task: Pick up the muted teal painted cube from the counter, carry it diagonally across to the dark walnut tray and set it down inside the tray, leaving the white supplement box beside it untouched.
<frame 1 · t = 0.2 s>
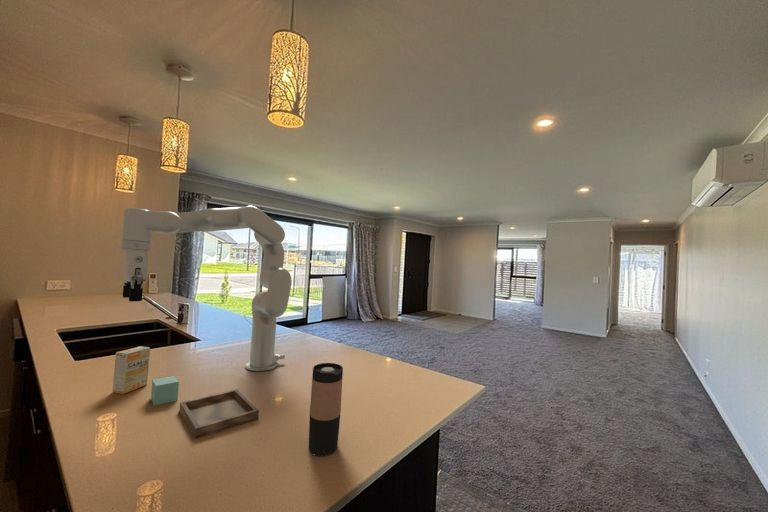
hand: (131, 299, 100), 30 cm above the worktop, tool pointing down, fingers open, 9 cm apart
travel mug: (323, 448, 78), on the worktop
supplement box: (130, 389, 104), on the worktop
walnut tray: (218, 414, 90), on the worktop
teal cube: (164, 399, 98), on the worktop
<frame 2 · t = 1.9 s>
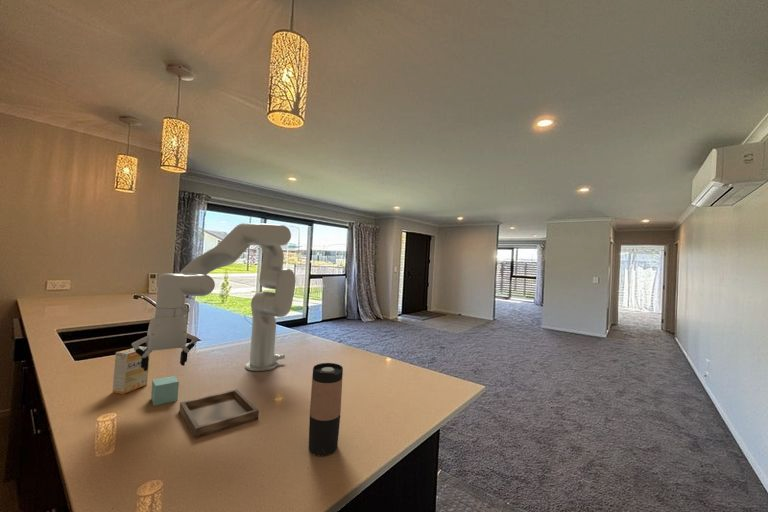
hand: (164, 367, 97), 10 cm above the worktop, tool pointing down, fingers open, 9 cm apart
nothing on the worktop moved.
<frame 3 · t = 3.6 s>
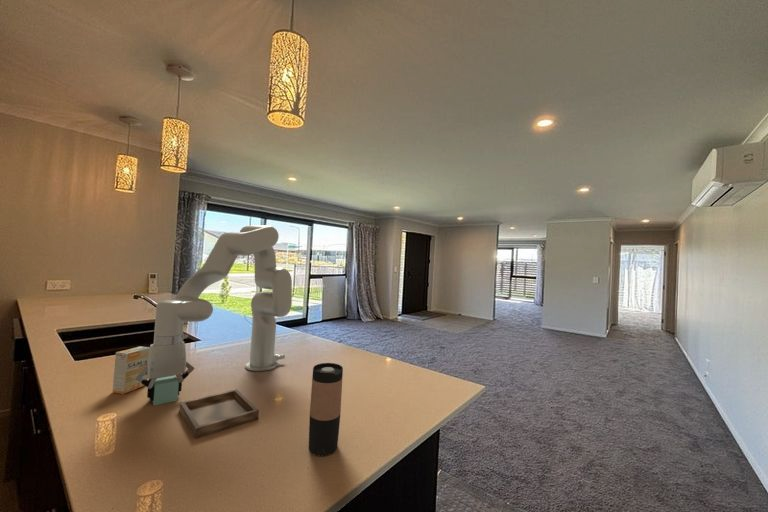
hand: (164, 396, 98), 1 cm above the worktop, tool pointing down, fingers closed on teal cube, 6 cm apart
teal cube: (164, 399, 98), on the worktop, touching gripper
everything else where it was.
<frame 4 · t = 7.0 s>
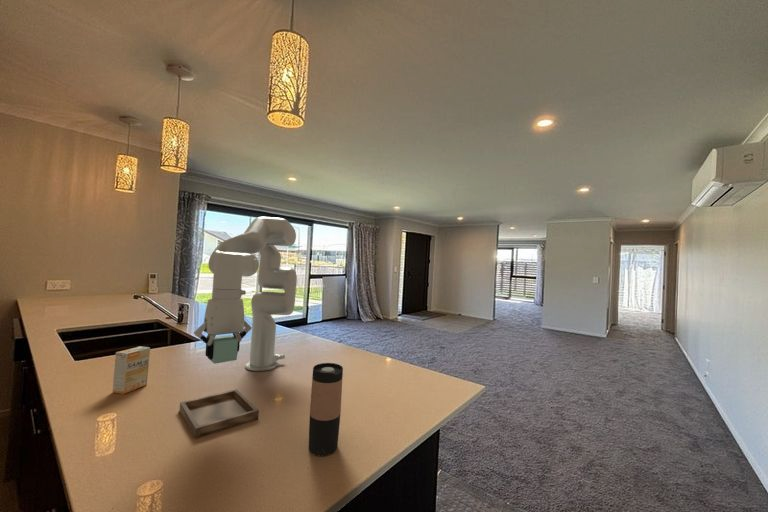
hand: (222, 355, 91), 17 cm above the worktop, tool pointing down, fingers closed on teal cube, 6 cm apart
teal cube: (222, 359, 91), point 16 cm above the worktop, touching gripper
everything else where it was.
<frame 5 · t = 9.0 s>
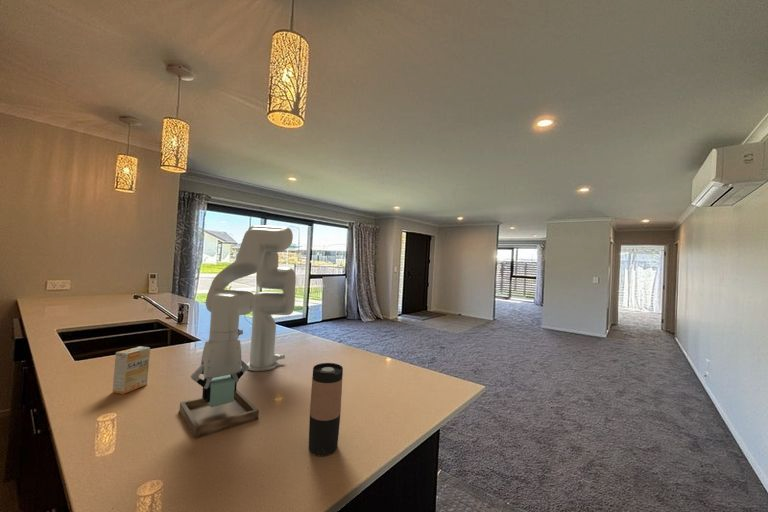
hand: (219, 397, 90), 5 cm above the worktop, tool pointing down, fingers closed on teal cube, 6 cm apart
teal cube: (219, 400, 90), point 4 cm above the worktop, touching gripper
everything else where it was.
when the fingers open (3 cm above the worktop, at t = 10.4 s): teal cube drops 1 cm, resting on walnut tray.
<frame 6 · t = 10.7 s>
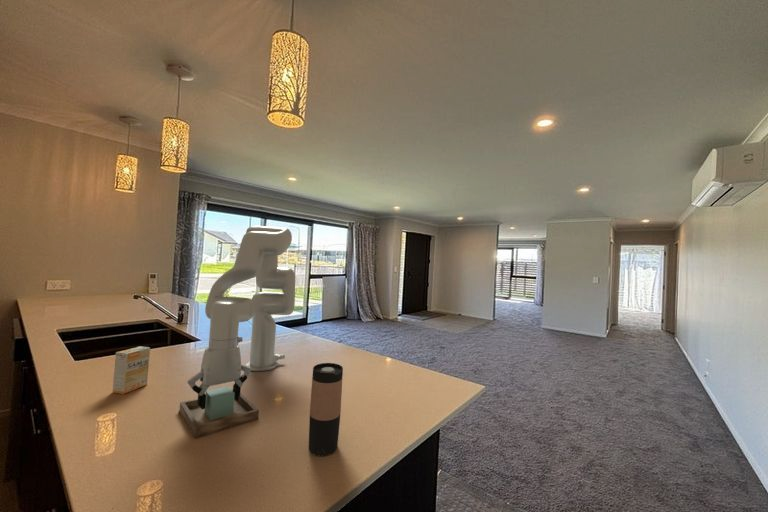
hand: (219, 402, 90), 3 cm above the worktop, tool pointing down, fingers open, 8 cm apart
teal cube: (218, 412, 90), point 1 cm above the worktop, touching walnut tray
everything else where it was.
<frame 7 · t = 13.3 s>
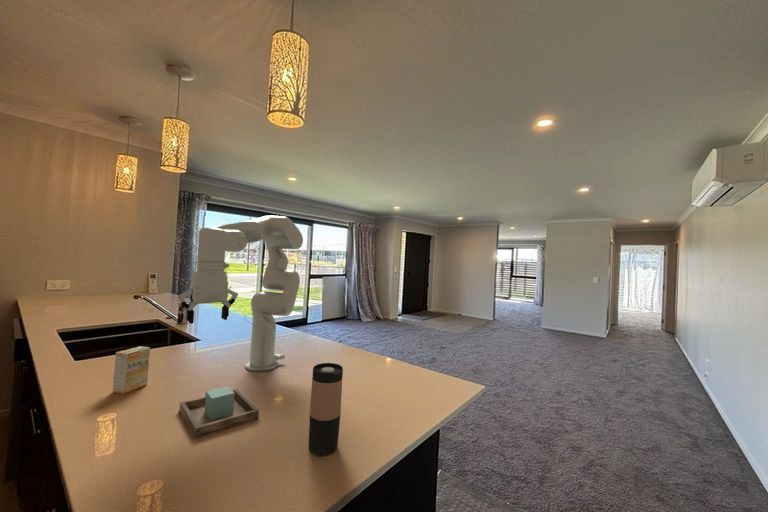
hand: (208, 320, 98), 25 cm above the worktop, tool pointing down, fingers open, 9 cm apart
nothing on the worktop moved.
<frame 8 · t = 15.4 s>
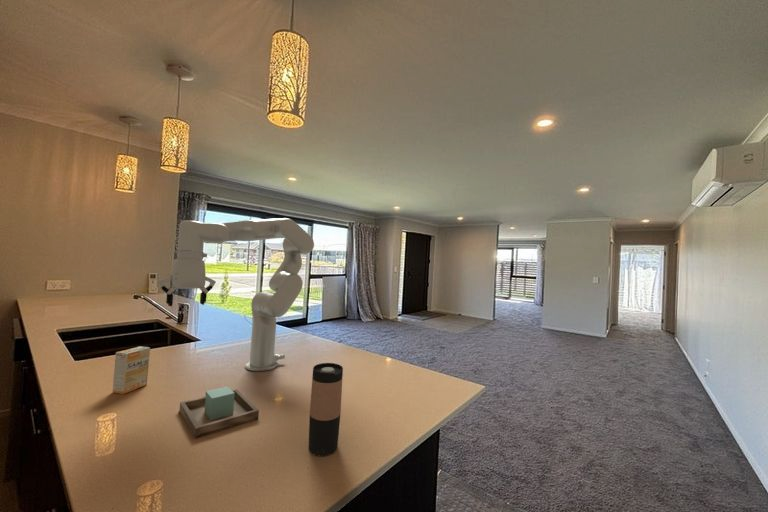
hand: (186, 304, 108), 28 cm above the worktop, tool pointing down, fingers open, 9 cm apart
nothing on the worktop moved.
at the end: teal cube inside the target area on the walnut tray (0.1 cm from its centre), point 0.6 cm above the walnut tray's base; teal cube tilted 0°; the gripper is holding nothing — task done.
